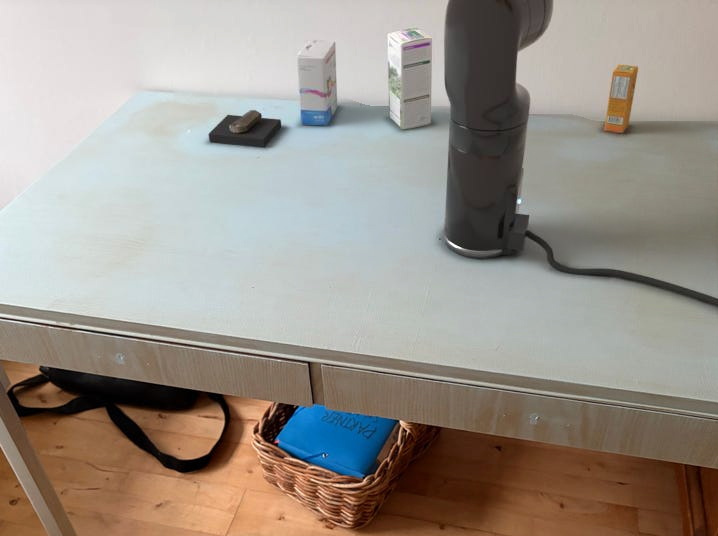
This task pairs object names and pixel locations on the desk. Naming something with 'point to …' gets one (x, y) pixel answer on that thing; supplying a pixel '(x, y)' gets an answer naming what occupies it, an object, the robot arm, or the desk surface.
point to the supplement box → (620, 98)
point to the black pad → (254, 136)
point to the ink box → (317, 82)
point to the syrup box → (410, 78)
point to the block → (245, 121)
